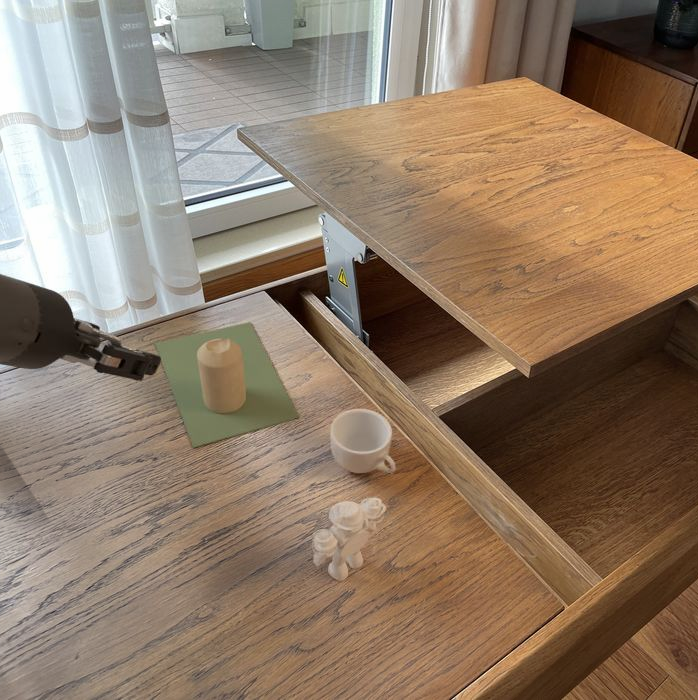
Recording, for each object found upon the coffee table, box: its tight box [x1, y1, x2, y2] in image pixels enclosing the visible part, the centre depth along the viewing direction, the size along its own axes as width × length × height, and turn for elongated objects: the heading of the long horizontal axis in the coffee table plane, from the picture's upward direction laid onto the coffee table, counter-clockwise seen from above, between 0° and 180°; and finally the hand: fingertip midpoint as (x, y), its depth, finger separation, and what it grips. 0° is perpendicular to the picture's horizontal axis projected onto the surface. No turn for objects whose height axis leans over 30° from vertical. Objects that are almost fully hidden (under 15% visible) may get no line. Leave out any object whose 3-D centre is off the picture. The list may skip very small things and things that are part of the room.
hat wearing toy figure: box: [311, 495, 387, 582], centre depth 77 cm, size 9×4×12 cm, turn 135°
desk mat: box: [154, 321, 300, 449], centre depth 101 cm, size 14×22×1 cm, turn 30°
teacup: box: [329, 408, 396, 474], centre depth 91 cm, size 10×8×5 cm
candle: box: [197, 339, 246, 413], centre depth 95 cm, size 6×6×10 cm
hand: (124, 350), depth 77 cm, fingers open, 8 cm apart
